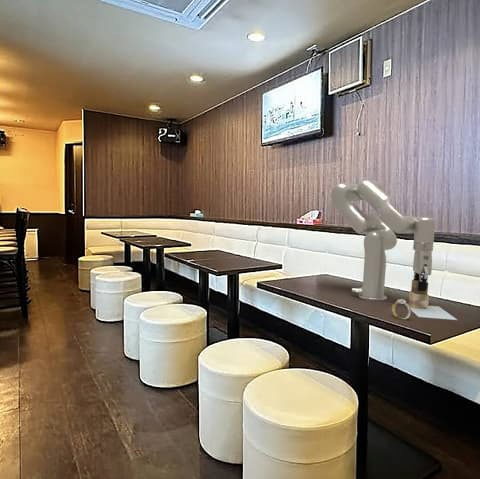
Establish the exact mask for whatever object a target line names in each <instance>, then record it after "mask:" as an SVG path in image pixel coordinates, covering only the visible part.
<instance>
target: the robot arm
mask: <svg viewBox="0 0 480 479" xmlns="http://www.w3.org/2000/svg"><path fill="white" fill-rule="evenodd" d="M330 199H331V203H332V206H333V207H334V209H335V211H337V212H338V214H339V215H340V216H341V217H342V218H343V219H344V220H345V222H346V223H348V225H349V226H350V227H351V228H352V229H353V230H354V231H355V233H357V234H358V235H365V236H364V238H363V247H364V248H363V250H364V260H363V276H362V277H363V278H362V286H360V287H358V288H356V287H355V288H354V287H352V288H351V292H352V293H356V294H358V297H359V298H360V299H362V300H365V301H366V300H373V301H374V300H376V301H382V300H383V301H385V300H387V299H388V296H386V295H385V280H386V271H387V270H386V269H387V268H386V267H387V256H386V251H390V250H392V249H394V248H395V247H396V245H397V243H398V237H397V236H396V234H414V236H413V246H412V250H414V254H413V263H412V270H413V273H414V274H413V280H420V281H419V283H418V291H426V290H427V282H428V278H429V276H430V275H432V268H433V265H432V264H433V256H432V255H433V253H432V252H433V250H434V241H435V228H436V219H435V218H433V217H423V216H420V217H417V216H413V215H403V214H401V213H400V212H399V211H397V210H396V209H395V208H394V207H393V206H392V201H393V199H392V197H391V196H390V194H388V193H387V192H385V187H384V184H383V183H381V182H380V181H378V180H373V179H364V180H361V181H360V182H358V183H352V182H351V183H349V182H339V183H336V184H335V185H334V186H333V187H332V188H331V193H330ZM358 201H364V202H366V204H367V203H368V204H369V205H370V206H371V207H372V208H373V209H374V210H375V211H376V212H377V215H378V216H377V215H374V214H370V213H369V214H367V213H365V212H364V211H363V210H362V209H361V208H359V206H358V205H357V204H355V203H354V202H358ZM395 233H396V234H395Z"/></svg>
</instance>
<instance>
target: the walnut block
mask: <svg viewBox="0 0 480 479" xmlns="http://www.w3.org/2000/svg"><path fill="white" fill-rule="evenodd" d="M419 281H420V280H414V279H412V280H411V288H410V291H411V292H413V293H414V294H424V295H427V294H428V293H429V292H428V291H429V290H428V289H429V282H428V281H427V290H426V291H418V283H419Z"/></svg>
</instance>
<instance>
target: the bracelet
mask: <svg viewBox="0 0 480 479" xmlns="http://www.w3.org/2000/svg"><path fill="white" fill-rule="evenodd" d="M399 304H402V305H403V304H404V306H406V308H407V312H408V313H407V315H406V316H405V317H402V316H401V317H400V316H399V315H398V314H397V313H396V309H395V308H396V305H399ZM391 312H392V314H393V316H394V317H395V318H397V319H402V320H408V319H409V318H410V316H411V315H412V310H411V307H410V305H409V302H407V301H406V300H405V299H404V298H400V299H398V298H397V300H396V301H395V302H394V303H393V304H392V305H391Z"/></svg>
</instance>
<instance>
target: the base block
mask: <svg viewBox="0 0 480 479" xmlns="http://www.w3.org/2000/svg"><path fill="white" fill-rule="evenodd" d="M408 294H409V295H408V296H409V298H408V304H409V305H410V306H411V307H412V308H417V309H428V306H429V298H430V295H429V294H428V293H427V295H424V294H414V293H413V292H411V290H410V291H409V293H408Z"/></svg>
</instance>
